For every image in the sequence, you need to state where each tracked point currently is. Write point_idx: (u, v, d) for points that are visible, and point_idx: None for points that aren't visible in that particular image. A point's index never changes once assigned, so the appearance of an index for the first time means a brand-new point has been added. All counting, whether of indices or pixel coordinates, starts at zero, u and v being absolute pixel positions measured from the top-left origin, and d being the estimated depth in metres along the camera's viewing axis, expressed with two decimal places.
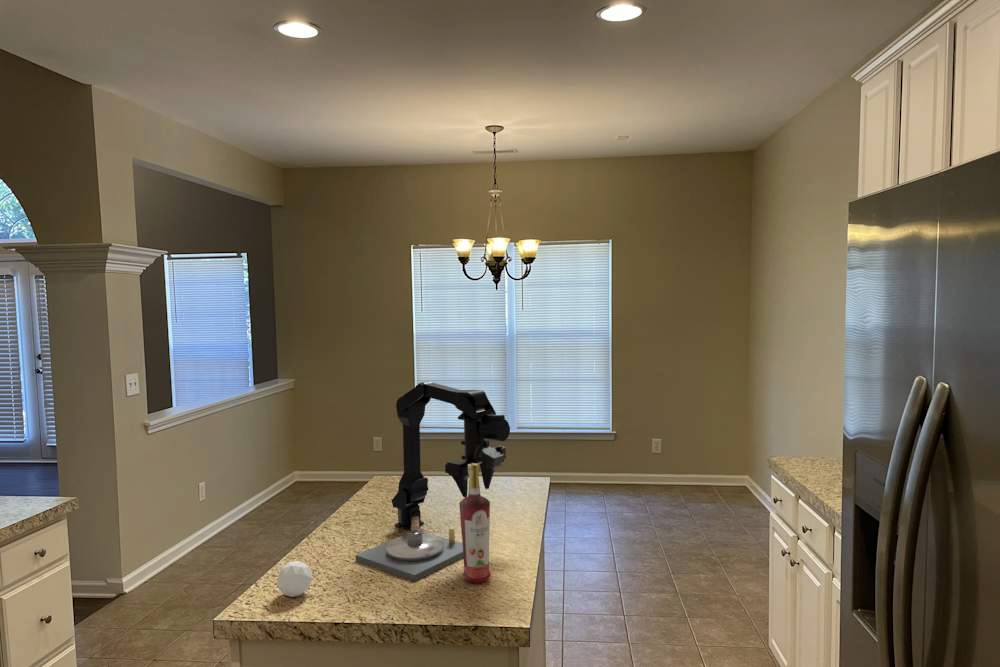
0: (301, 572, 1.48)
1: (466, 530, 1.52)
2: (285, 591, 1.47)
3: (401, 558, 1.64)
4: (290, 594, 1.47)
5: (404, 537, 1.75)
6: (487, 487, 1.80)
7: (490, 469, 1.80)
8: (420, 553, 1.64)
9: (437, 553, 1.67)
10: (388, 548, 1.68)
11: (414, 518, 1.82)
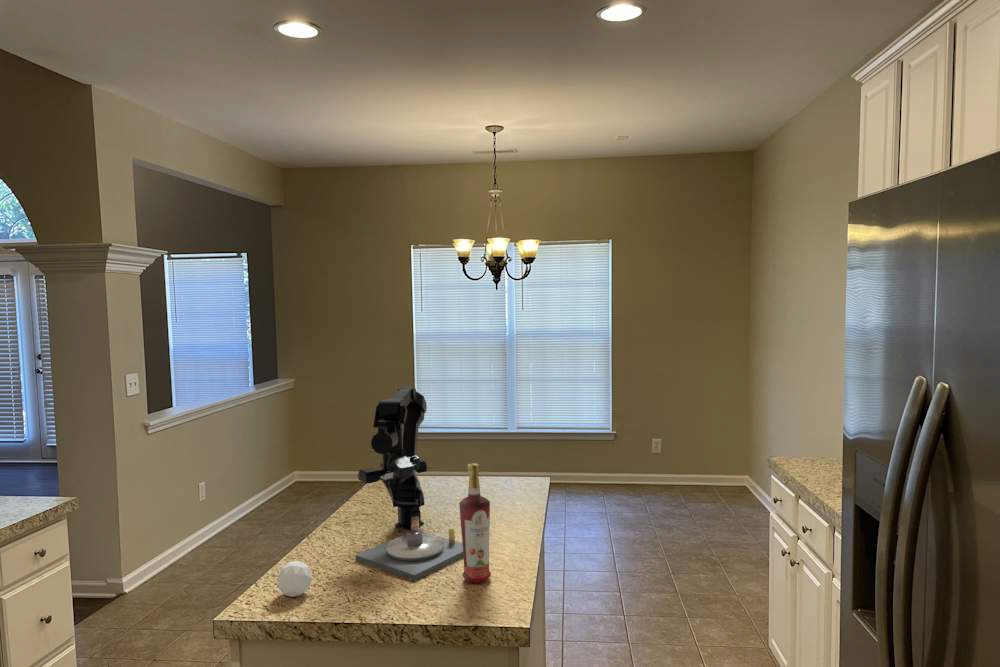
0: (301, 572, 1.48)
1: (466, 530, 1.52)
2: (285, 591, 1.47)
3: (401, 558, 1.64)
4: (290, 594, 1.47)
5: (404, 537, 1.75)
6: (395, 499, 1.79)
7: (397, 481, 1.78)
8: (420, 553, 1.64)
9: (437, 553, 1.67)
10: (388, 548, 1.68)
11: (414, 518, 1.82)
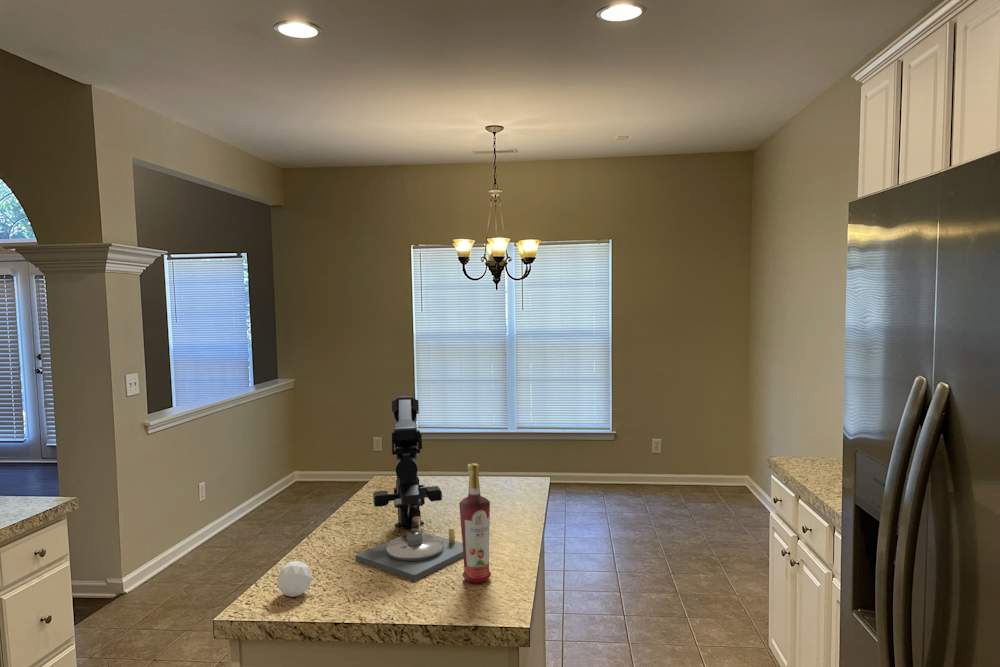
0: (301, 572, 1.48)
1: (466, 530, 1.52)
2: (285, 591, 1.47)
3: (400, 558, 1.64)
4: (290, 594, 1.47)
5: (405, 537, 1.75)
6: None
7: (409, 507, 1.80)
8: (419, 553, 1.64)
9: (437, 553, 1.66)
10: (388, 548, 1.68)
11: (415, 518, 1.82)
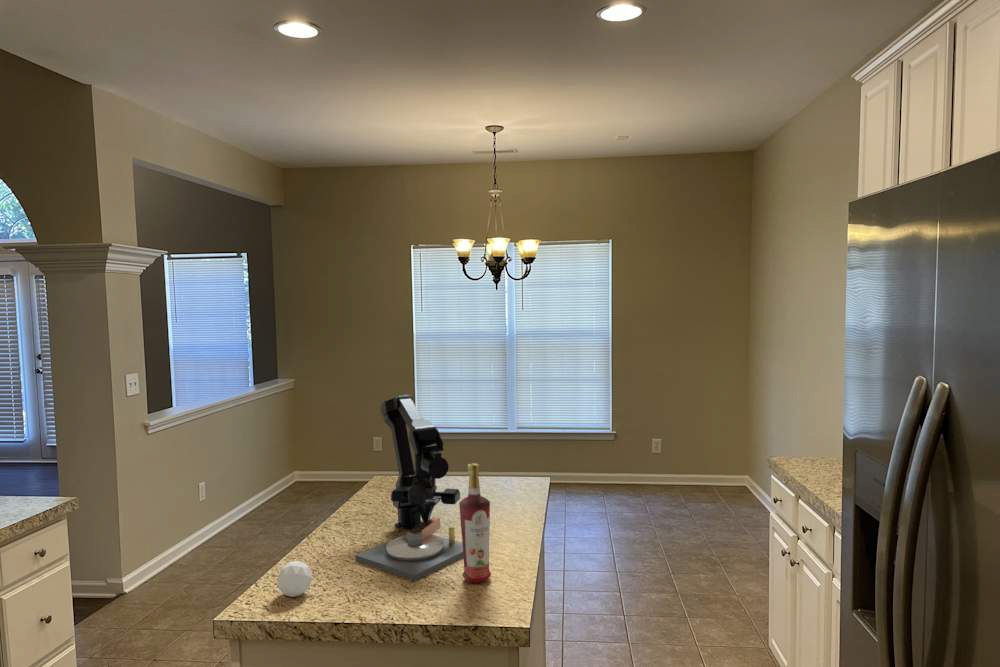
0: (301, 572, 1.48)
1: (466, 530, 1.52)
2: (285, 591, 1.47)
3: (391, 555, 1.66)
4: (290, 594, 1.47)
5: None
6: None
7: None
8: (406, 554, 1.63)
9: (426, 557, 1.64)
10: (388, 543, 1.71)
11: (433, 518, 1.81)
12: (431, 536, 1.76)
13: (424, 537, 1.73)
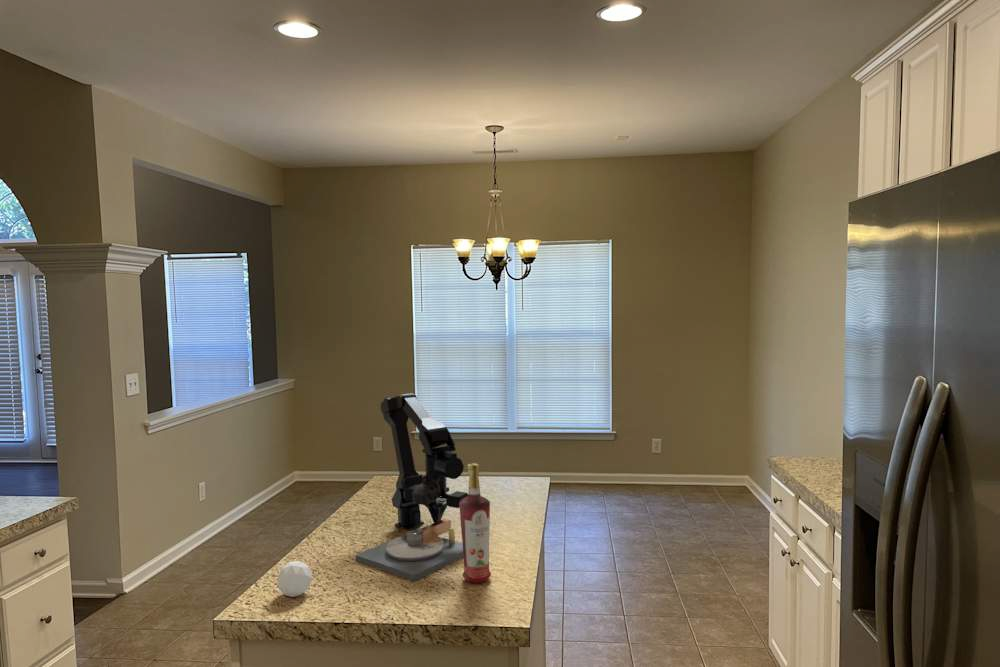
0: (301, 572, 1.48)
1: (466, 530, 1.52)
2: (285, 591, 1.47)
3: (387, 553, 1.67)
4: (290, 594, 1.47)
5: None
6: None
7: None
8: (399, 553, 1.64)
9: (417, 559, 1.63)
10: (391, 541, 1.73)
11: (443, 520, 1.79)
12: (435, 538, 1.74)
13: (426, 538, 1.73)
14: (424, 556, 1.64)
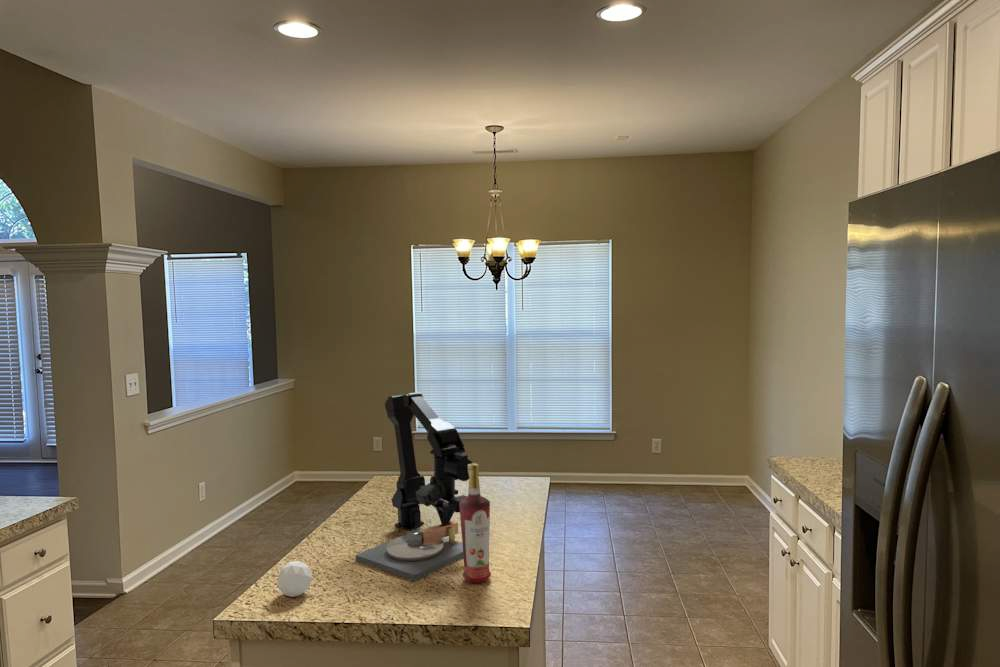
0: (301, 572, 1.48)
1: (466, 530, 1.52)
2: (285, 591, 1.47)
3: None
4: (290, 594, 1.47)
5: None
6: None
7: None
8: (393, 552, 1.65)
9: (409, 559, 1.63)
10: (395, 538, 1.75)
11: (450, 522, 1.77)
12: (438, 540, 1.73)
13: (428, 539, 1.72)
14: (416, 557, 1.63)
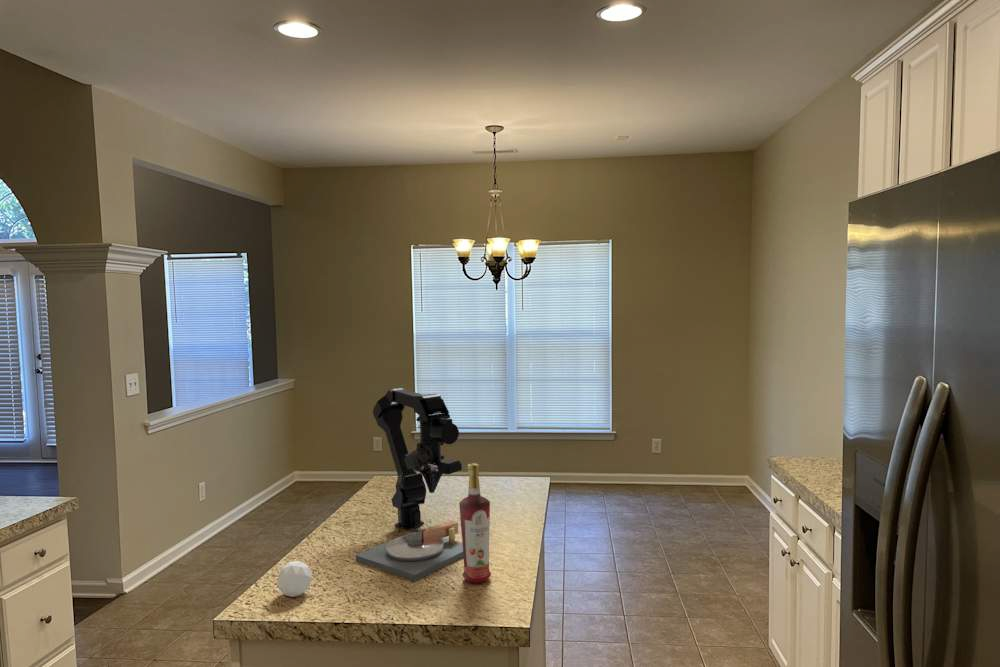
0: (301, 572, 1.48)
1: (466, 530, 1.52)
2: (285, 591, 1.47)
3: None
4: (290, 594, 1.47)
5: None
6: None
7: None
8: (393, 552, 1.65)
9: (409, 559, 1.63)
10: (395, 538, 1.75)
11: (450, 522, 1.77)
12: (438, 540, 1.73)
13: (428, 539, 1.72)
14: (416, 557, 1.63)
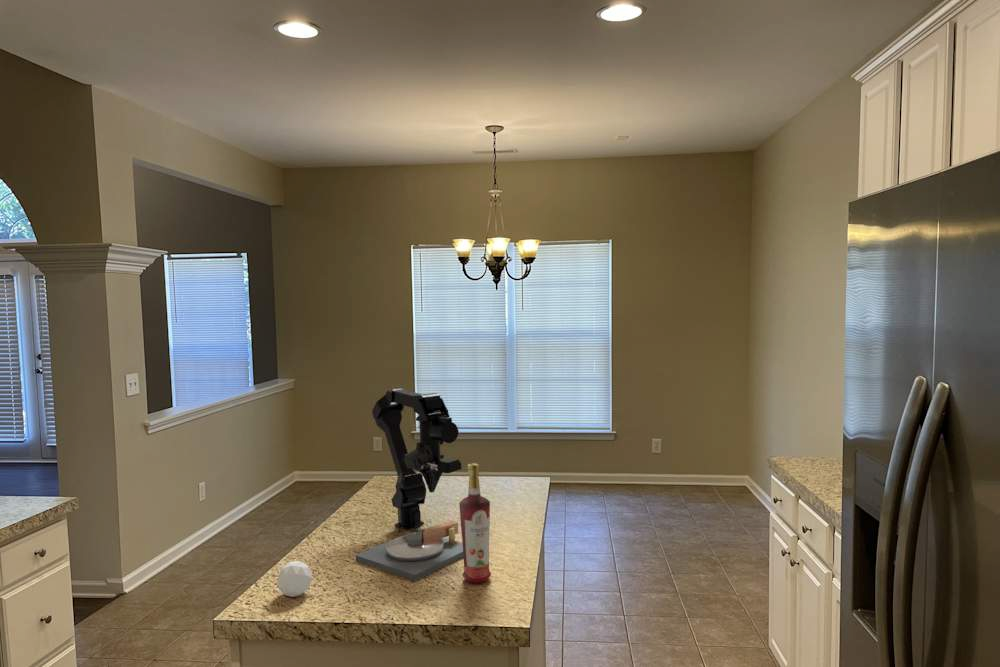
0: (301, 572, 1.48)
1: (466, 530, 1.52)
2: (285, 591, 1.47)
3: None
4: (290, 594, 1.47)
5: None
6: None
7: None
8: (393, 552, 1.65)
9: (409, 559, 1.63)
10: (395, 538, 1.75)
11: (450, 522, 1.77)
12: (438, 540, 1.73)
13: (428, 539, 1.72)
14: (416, 557, 1.63)
